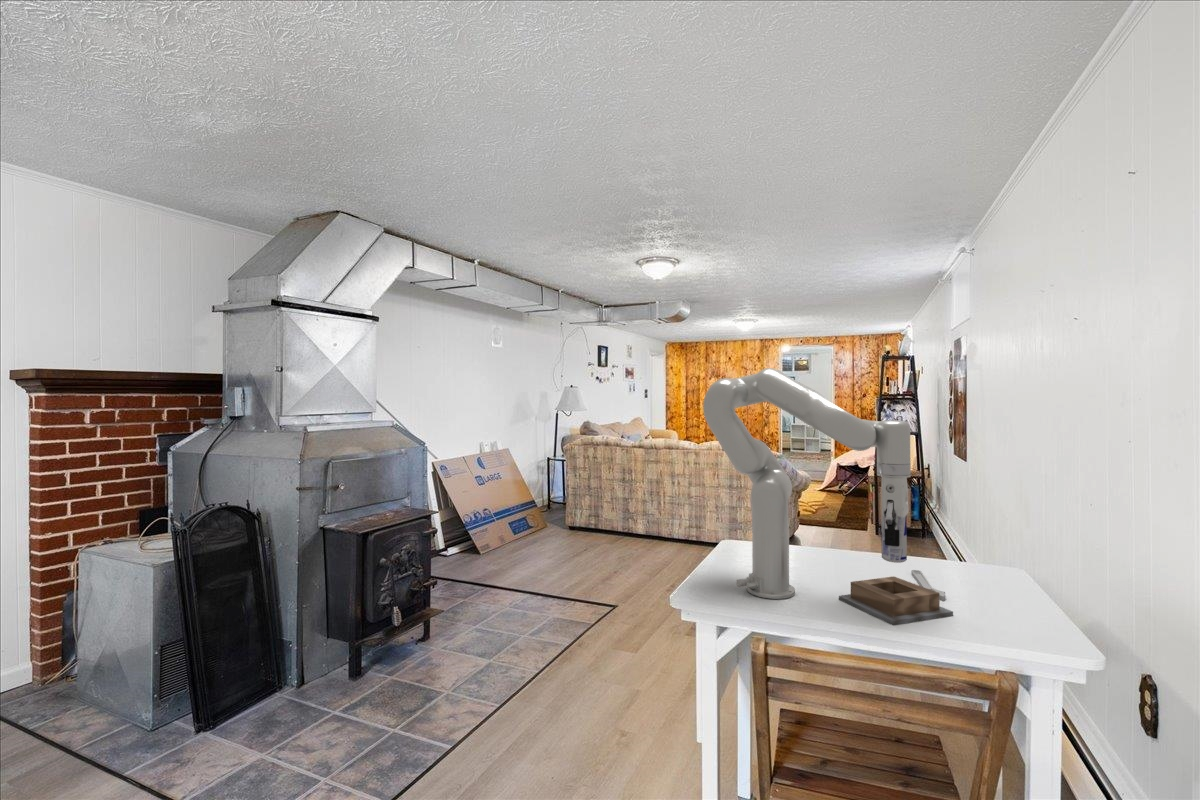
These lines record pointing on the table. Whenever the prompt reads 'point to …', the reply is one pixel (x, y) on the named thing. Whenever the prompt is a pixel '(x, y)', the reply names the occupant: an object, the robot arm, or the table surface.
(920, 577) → the adjustable wrench
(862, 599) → the holder
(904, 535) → the beverage can
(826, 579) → the table surface
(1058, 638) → the table surface
